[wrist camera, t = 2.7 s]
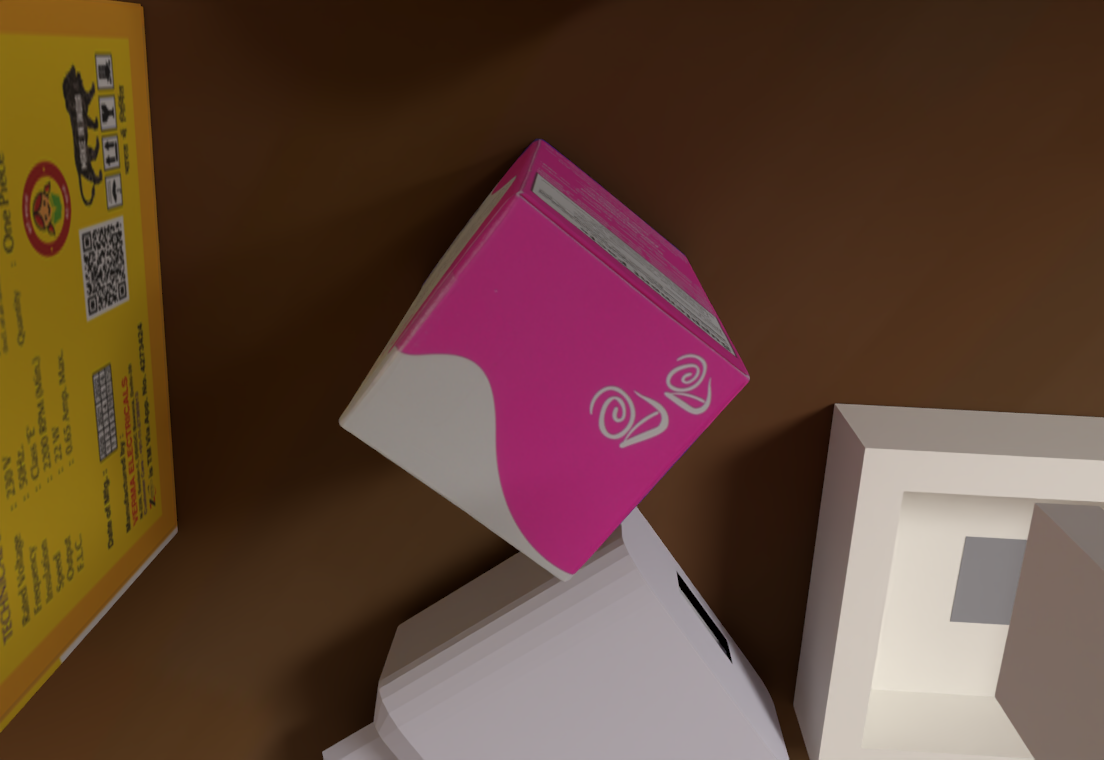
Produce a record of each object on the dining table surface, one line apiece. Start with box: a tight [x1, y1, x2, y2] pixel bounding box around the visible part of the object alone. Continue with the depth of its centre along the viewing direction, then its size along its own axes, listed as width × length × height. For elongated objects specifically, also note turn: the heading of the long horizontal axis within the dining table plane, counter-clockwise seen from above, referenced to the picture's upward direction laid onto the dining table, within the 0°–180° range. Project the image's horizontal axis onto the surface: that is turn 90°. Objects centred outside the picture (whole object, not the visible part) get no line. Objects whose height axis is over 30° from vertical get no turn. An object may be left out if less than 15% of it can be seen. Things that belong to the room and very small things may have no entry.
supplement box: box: [339, 139, 750, 582], centre depth 24 cm, size 6×6×12 cm
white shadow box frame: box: [793, 404, 1104, 760], centre depth 30 cm, size 11×11×4 cm
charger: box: [322, 507, 789, 760], centre depth 32 cm, size 5×9×15 cm
